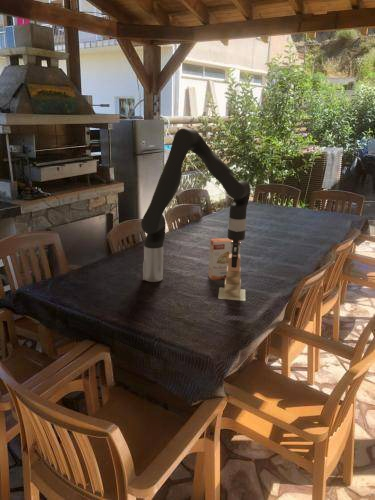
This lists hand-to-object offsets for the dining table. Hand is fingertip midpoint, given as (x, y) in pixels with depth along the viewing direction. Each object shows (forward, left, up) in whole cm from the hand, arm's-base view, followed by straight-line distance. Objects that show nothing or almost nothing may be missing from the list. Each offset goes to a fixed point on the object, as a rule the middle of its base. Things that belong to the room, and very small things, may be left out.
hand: (234, 264), depth 182 cm
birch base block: (0, 0, -14) cm, 14 cm away
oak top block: (0, 0, -8) cm, 8 cm away
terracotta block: (0, 0, -2) cm, 2 cm away
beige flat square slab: (0, 0, -16) cm, 16 cm away
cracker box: (-5, +19, -16) cm, 26 cm away
